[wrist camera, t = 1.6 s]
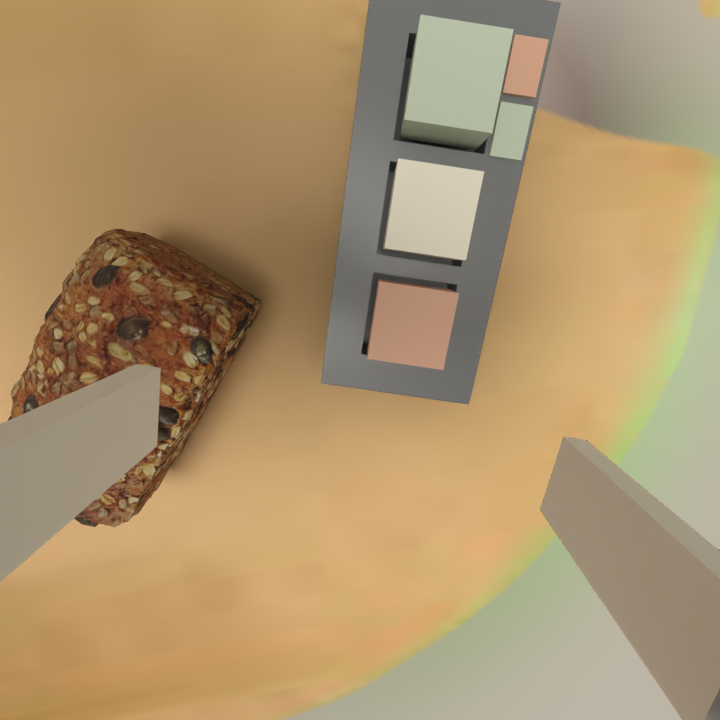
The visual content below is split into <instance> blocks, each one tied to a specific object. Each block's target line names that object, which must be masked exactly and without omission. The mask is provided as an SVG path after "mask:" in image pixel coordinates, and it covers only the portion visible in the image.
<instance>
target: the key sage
mask: <svg viewBox="0 0 720 720" xmlns="http://www.w3.org/2000/svg"><path fill="white" fill-rule="evenodd" d="M513 30H514V29H509V28H503V27H496V26H490V25H484V24H477V23H471V22H465V21H459V20H452V19H446V18H440V17H434V16H427V15H420V20H419V24H418V29H417V34H416V38H415V43H414V48H413V54H412V61H411V67H410V74H409V80H408V87H407V93H406V100H405V106H404V113H403V119H402V126H401V132H400V138H404V139H411V140H417V141H424V142H430V143H437V144H443V145H449V146H456V147H462V148H469V149H475V150H476V149H477V148H478V147H479V146H480V145H481V144H482V143H483V142H484V141H485V140H486V139H487V138H488V137H489V136H490V135H491V134H492V132H493V127H494V122H495V117H496V113H497V108H498V103H499V98H500V93H501V88H502V84H503V79H504V74H505V69H506V64H507V59H508V55H509V50H510V45H511V40H512V35H513Z"/></svg>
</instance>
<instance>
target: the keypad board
mask: <svg viewBox="0 0 720 720" xmlns="http://www.w3.org/2000/svg"><path fill="white" fill-rule="evenodd" d="M559 8H560V3H558V2H551V1H546V0H369V5H368V13H367V21H366V29H365V37H364V45H363V53H362V61H361V69H360V77H359V85H358V93H357V100H356V108H355V116H354V124H353V132H352V140H351V148H350V156H349V164H348V172H347V180H346V188H345V196H344V204H343V212H342V220H341V228H340V236H339V244H338V252H337V260H336V268H335V275H334V283H333V291H332V299H331V307H330V315H329V323H328V331H327V339H326V347H325V355H324V363H323V371H322V379H321V383H324V384H331V385H338V386H345V387H351V388H358V389H365V390H372V391H379V392H386V393H393V394H400V395H407V396H414V397H421V398H428V399H434V400H441V401H448V402H455V403H462V404H469V401H470V397H471V393H472V388H473V384H474V380H475V375H476V371H477V366H478V362H479V358H480V353H481V349H482V345H483V340H484V336H485V332H486V327H487V323H488V318H489V314H490V310H491V305H492V301H493V297H494V292H495V288H496V283H497V279H498V275H499V270H500V266H501V262H502V257H503V253H504V249H505V244H506V240H507V235H508V231H509V227H510V222H511V218H512V214H513V209H514V205H515V200H516V196H517V192H518V187H519V183H520V179H521V174H522V170H523V166H524V161H525V157H526V152H527V148H528V144H529V139H530V135H531V131H532V126H533V122H534V117H535V113H536V109H537V104H538V100H539V96H540V91H541V87H542V83H543V78H544V74H545V69H546V65H547V60H548V56H549V52H550V48H551V43H552V38H553V34H554V30H555V26H556V21H557V17H558V12H559ZM420 15H427V16H434V17H440V18H446V19H452V20H459V21H465V22H471V23H477V24H484V25H490V26H496V27H503V28H509V29H514V30H513V35H512V40H511V45H510V50H509V55H508V59H507V64H506V69H505V74H504V79H503V84H502V88H501V93H500V98H499V103H498V108H497V113H496V117H495V122H494V127H493V132H492V134H491V135H490V136H489V137H488V138H487V139H486V140H485V141H484V142H483V143H482V144H481V145H480V146H479V147H478V148H477V149H476V150H475V149H469V148H462V147H456V146H449V145H443V144H437V143H430V142H424V141H417V140H411V139H404V138H400V132H401V126H402V119H403V113H404V106H405V100H406V93H407V87H408V80H409V74H410V67H411V61H412V54H413V48H414V43H415V38H416V34H417V29H418V24H419V20H420ZM398 158H400V159H406V160H413V161H419V162H426V163H432V164H439V165H445V166H452V167H458V168H465V169H471V170H478V171H484V176H483V180H482V185H481V190H480V195H479V200H478V205H477V209H476V214H475V219H474V224H473V229H472V234H471V238H470V243H469V248H468V253H467V258H466V260H451V259H444V258H438V257H431V256H424V255H418V254H411V253H404V252H398V251H391V250H384V249H383V243H384V237H385V230H386V224H387V217H388V211H389V204H390V198H391V191H392V184H393V178H394V171H395V168H396V165H397V161H398ZM378 279H385V280H392V281H399V282H405V283H412V284H419V285H425V286H432V287H439V288H446V289H450V290H452V291H455V292H457V293H459V297H458V301H457V306H456V311H455V316H454V321H453V326H452V330H451V335H450V340H449V345H448V350H447V355H446V360H445V364H444V369H443V370H440V369H433V368H426V367H419V366H412V365H405V364H398V363H392V362H385V361H378V360H371V359H367V350H368V341H369V334H370V328H371V321H372V315H373V308H374V302H375V295H376V289H377V282H378Z"/></svg>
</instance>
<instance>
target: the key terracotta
mask: <svg viewBox="0 0 720 720" xmlns="http://www.w3.org/2000/svg"><path fill="white" fill-rule="evenodd" d="M458 297H459V293H457V292H455V291H452V290H450V289H446V288H439V287H432V286H425V285H419V284H412V283H405V282H399V281H392V280H385V279H378V282H377V289H376V295H375V302H374V308H373V315H372V321H371V328H370V334H369V341H368V350H367V359H371V360H378V361H385V362H392V363H398V364H405V365H412V366H419V367H426V368H433V369H440V370H443V369H444V364H445V360H446V355H447V350H448V345H449V340H450V335H451V330H452V326H453V321H454V316H455V311H456V306H457V301H458Z"/></svg>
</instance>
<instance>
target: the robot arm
mask: <svg viewBox="0 0 720 720" xmlns="http://www.w3.org/2000/svg"><path fill="white" fill-rule="evenodd" d="M160 373H161V368H157V367H152V366H146V365H140V364H136V365H133V366H131V367H129V368H127V369H124V370H122V371H120V372H118V373H115V374H113V375H111V376H108V377H106V378H104V379H102V380H99V381H97V382H95V383H93V384H90V385H88V386H86V387H83V388H81V389H79V390H77V391H74V392H72V393H70V394H68V395H65V396H63V397H61V398H59V399H56V400H54V401H52V402H49V403H47V404H45V405H43V406H40V407H38V408H36V409H34V410H31V411H29V412H27V413H24V414H22V415H20V416H18V417H15V418H13V419H11V420H9V421H6V422H4V423H2V424H0V582H1V581H2V580H3V579H4V578H5V577H7V576H8V575H9V574H10V573H11V572H12V571H14V570H15V569H16V568H17V567H18V566H19V565H20V564H22V563H23V562H24V561H25V560H26V559H27V558H29V557H30V556H31V555H32V554H33V553H34V552H35V551H37V550H38V549H39V548H40V547H41V546H42V545H44V544H45V543H46V542H47V541H48V540H49V539H50V538H52V537H53V536H54V535H55V534H56V533H57V532H59V531H60V530H61V529H62V528H63V527H64V526H65V525H67V524H68V523H69V522H70V521H71V520H72V519H74V518H75V517H76V516H77V515H78V514H79V513H80V512H82V511H83V510H84V509H85V508H86V507H87V506H89V505H90V504H91V503H92V502H93V501H94V500H95V499H97V498H98V497H99V496H100V495H101V494H102V493H104V492H105V491H106V490H107V489H108V488H109V487H110V486H112V485H113V484H114V483H115V482H116V481H117V480H119V479H120V478H121V477H122V476H123V475H124V474H125V473H127V472H128V471H129V470H130V469H131V468H132V467H134V466H135V465H136V464H137V463H138V462H139V461H141V460H142V459H143V458H144V457H145V456H146V455H147V454H149V453H150V452H151V451H152V450H153V449H154V448H156V447H157V437H158V416H159V395H160ZM540 511H541V512H542V514H543V515H544V517H545V518H546V520H547V521H548V523H549V524H550V526H551V527H552V529H553V530H554V531H555V533H556V534H557V536H558V537H559V539H560V540H561V542H562V543H563V545H564V546H565V548H566V549H567V550H568V552H569V553H570V555H571V557H572V558H573V559H574V561H575V562H576V564H577V565H578V567H579V568H580V570H581V571H582V573H583V574H584V576H585V577H586V579H587V580H588V582H589V583H590V585H591V586H592V587H593V589H594V590H595V592H596V593H597V595H598V596H599V598H600V599H601V601H602V602H603V604H604V605H605V607H606V608H607V610H608V611H609V613H610V614H611V615H612V617H613V618H614V620H615V621H616V623H617V624H618V626H619V627H620V629H621V630H622V632H623V633H624V635H625V636H626V638H627V639H628V641H629V642H630V643H631V645H632V646H633V648H634V649H635V651H636V652H637V653H638V655H639V657H640V658H641V660H642V661H643V663H644V664H645V666H646V667H647V668H648V670H649V671H650V673H651V674H652V676H653V677H654V679H655V680H656V682H657V683H658V685H659V686H660V688H661V689H662V691H663V692H664V694H665V695H666V697H667V698H668V699H669V701H670V702H671V704H672V705H673V707H674V708H675V710H676V711H677V713H678V714H679V716H680V717H681V719H682V720H720V550H719V549H717V548H716V547H714V546H713V545H712V544H711V543H710V542H708V541H707V540H706V539H705V538H704V537H702V536H701V535H700V534H699V533H698V532H696V531H695V530H694V529H693V528H692V527H690V526H689V525H688V524H687V523H686V522H684V521H683V520H682V519H680V517H678V516H677V515H676V514H675V513H674V512H672V511H671V510H670V509H669V508H668V507H666V506H665V505H664V504H663V503H661V502H660V501H659V500H658V499H657V498H655V497H654V496H653V495H652V494H651V493H649V492H648V491H647V490H646V489H645V488H643V487H642V486H641V485H640V484H639V483H637V482H636V481H635V480H634V479H633V478H631V477H630V476H629V475H628V474H627V473H625V472H624V471H623V470H622V469H621V468H619V467H618V466H617V465H616V464H615V463H613V462H612V461H611V460H610V459H609V458H607V457H606V456H605V455H604V454H603V453H601V452H600V451H599V450H598V449H597V448H595V447H594V446H593V445H592V444H591V443H589V442H588V441H587V440H582V439H576V438H570V437H563V440H562V443H561V446H560V449H559V452H558V455H557V458H556V462H555V465H554V468H553V471H552V474H551V477H550V480H549V483H548V486H547V489H546V493H545V496H544V499H543V502H542V505H541V508H540Z"/></svg>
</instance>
